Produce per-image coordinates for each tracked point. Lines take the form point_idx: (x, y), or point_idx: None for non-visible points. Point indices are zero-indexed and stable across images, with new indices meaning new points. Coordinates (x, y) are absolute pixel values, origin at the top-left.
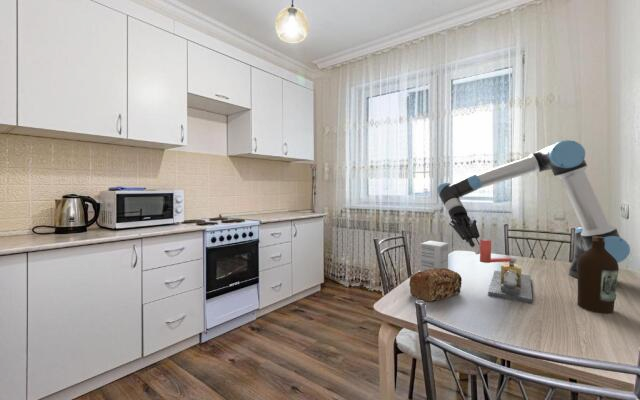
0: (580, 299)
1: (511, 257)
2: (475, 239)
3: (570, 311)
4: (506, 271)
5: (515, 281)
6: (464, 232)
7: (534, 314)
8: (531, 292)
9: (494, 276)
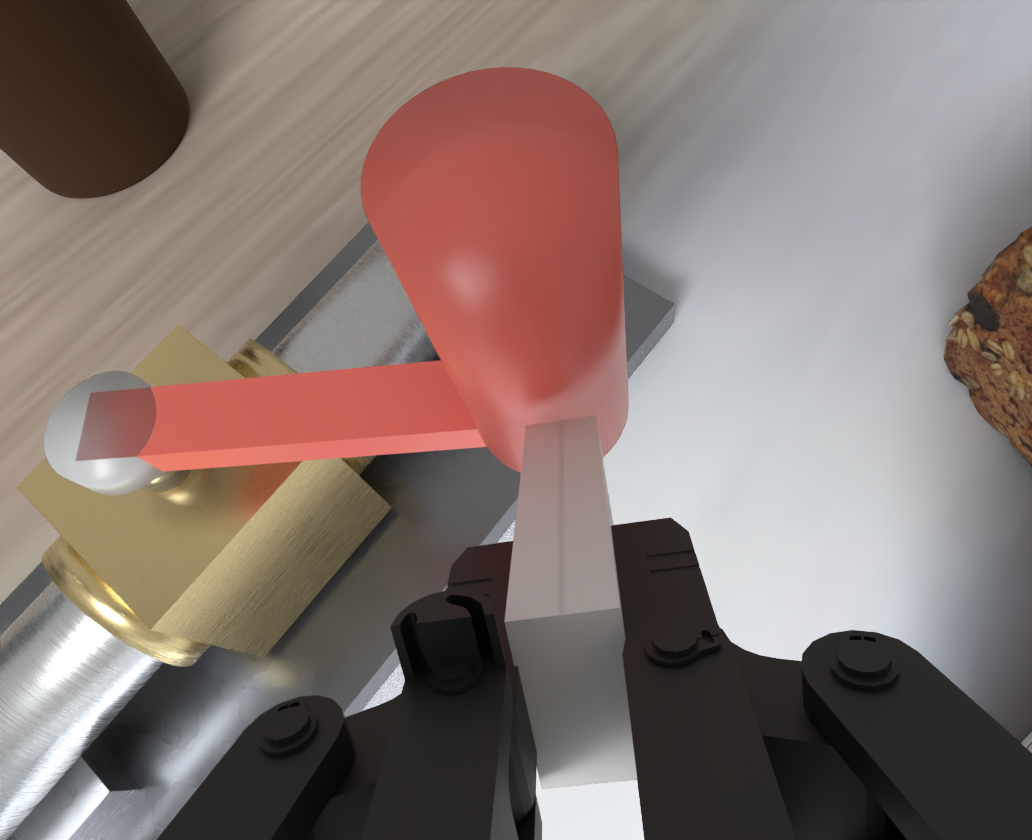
0: (156, 98)
1: (66, 463)
2: (527, 584)
3: (307, 84)
4: None
5: None
6: (935, 826)
7: (563, 38)
8: (310, 283)
9: None
